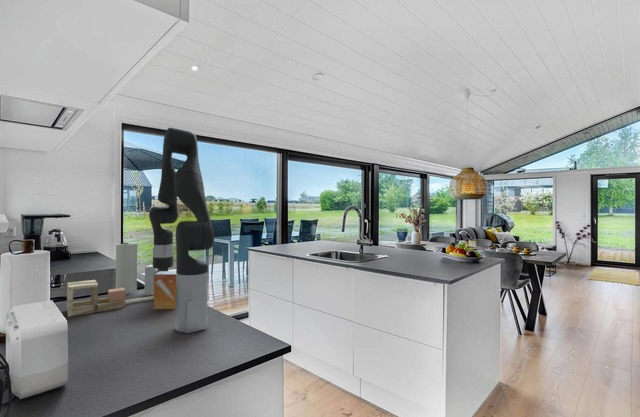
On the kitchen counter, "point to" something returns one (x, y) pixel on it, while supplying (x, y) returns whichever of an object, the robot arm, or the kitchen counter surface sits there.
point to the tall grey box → (126, 267)
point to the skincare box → (149, 280)
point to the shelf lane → (88, 305)
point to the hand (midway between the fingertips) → (162, 297)
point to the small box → (165, 290)
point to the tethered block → (123, 296)
